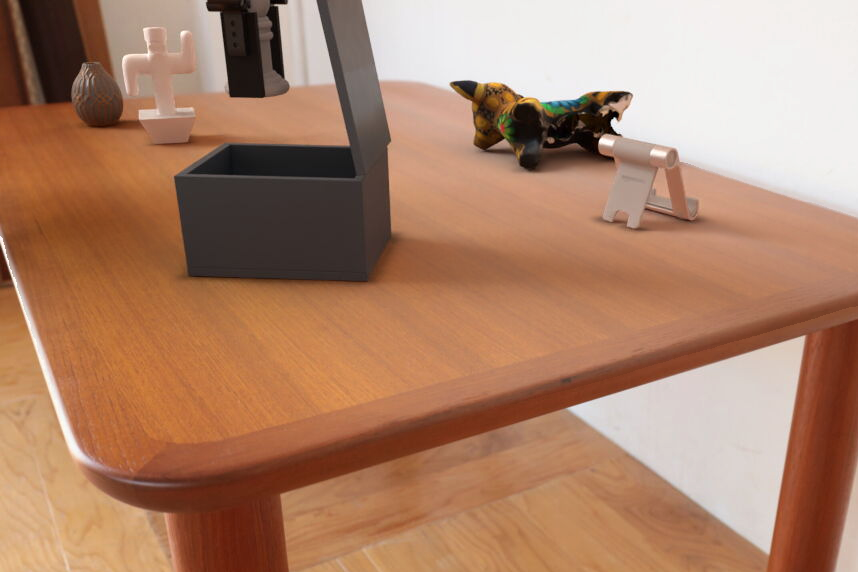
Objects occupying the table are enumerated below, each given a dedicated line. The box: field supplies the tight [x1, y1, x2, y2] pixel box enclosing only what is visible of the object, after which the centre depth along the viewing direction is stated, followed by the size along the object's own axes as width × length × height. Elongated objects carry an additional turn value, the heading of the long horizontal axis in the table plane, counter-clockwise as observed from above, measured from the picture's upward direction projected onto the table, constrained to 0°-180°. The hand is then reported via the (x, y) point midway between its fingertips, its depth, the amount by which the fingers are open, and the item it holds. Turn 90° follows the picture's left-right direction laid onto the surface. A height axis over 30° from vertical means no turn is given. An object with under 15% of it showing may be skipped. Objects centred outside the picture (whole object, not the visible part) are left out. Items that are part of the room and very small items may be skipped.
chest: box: [173, 142, 392, 282], centre depth 81 cm, size 16×13×9 cm
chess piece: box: [223, 0, 291, 98], centre depth 74 cm, size 5×5×9 cm
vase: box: [70, 61, 124, 127], centre depth 132 cm, size 7×7×9 cm
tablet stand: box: [598, 134, 700, 230], centre depth 93 cm, size 9×8×8 cm
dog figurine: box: [448, 79, 634, 170], centre depth 119 cm, size 20×12×18 cm
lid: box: [315, 0, 392, 176], centre depth 75 cm, size 16×13×9 cm
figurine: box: [121, 26, 197, 145], centre depth 122 cm, size 7×9×15 cm
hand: (258, 90), depth 76 cm, fingers closed on chess piece, 5 cm apart
